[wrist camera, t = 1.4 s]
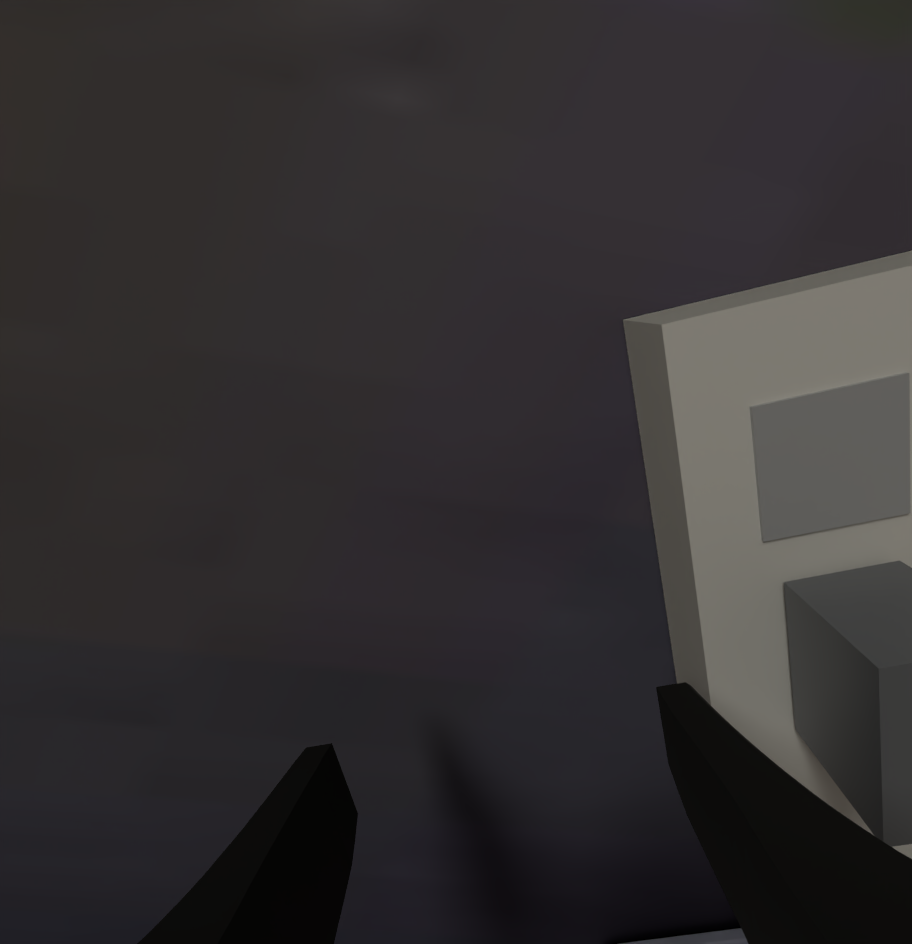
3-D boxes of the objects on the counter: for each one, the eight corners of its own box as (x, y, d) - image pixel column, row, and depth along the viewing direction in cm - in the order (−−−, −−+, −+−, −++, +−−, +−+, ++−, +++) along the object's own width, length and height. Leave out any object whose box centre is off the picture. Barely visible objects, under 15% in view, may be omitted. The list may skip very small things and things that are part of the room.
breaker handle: (901, 712, 13) (1021, 828, 10) (795, 729, 13) (883, 847, 10) (899, 560, 12) (1033, 642, 9) (783, 582, 12) (878, 668, 9)
